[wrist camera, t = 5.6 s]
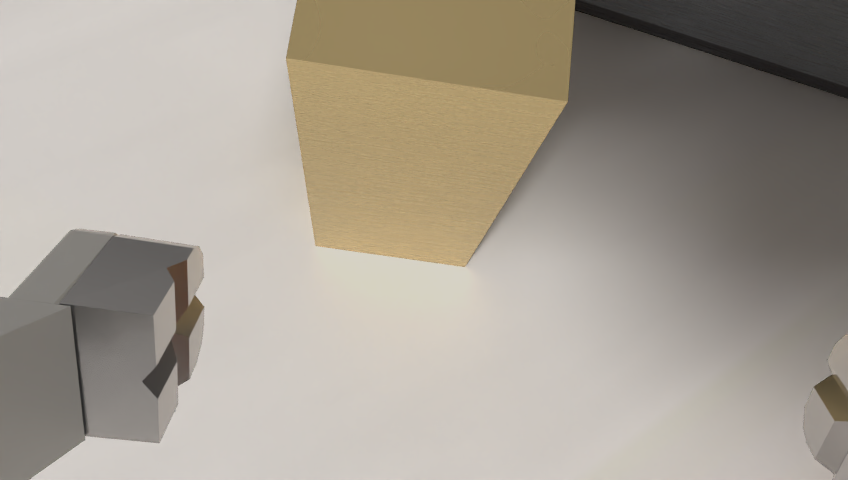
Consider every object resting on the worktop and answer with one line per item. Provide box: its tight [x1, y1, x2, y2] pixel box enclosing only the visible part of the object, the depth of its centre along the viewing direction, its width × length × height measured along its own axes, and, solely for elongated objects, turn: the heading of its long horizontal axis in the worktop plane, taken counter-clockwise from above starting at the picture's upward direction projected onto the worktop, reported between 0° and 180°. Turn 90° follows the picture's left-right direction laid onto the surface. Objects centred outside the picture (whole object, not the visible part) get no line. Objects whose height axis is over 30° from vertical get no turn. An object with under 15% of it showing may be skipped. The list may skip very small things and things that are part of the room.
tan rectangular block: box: [286, 0, 575, 267], centre depth 16 cm, size 4×4×10 cm
